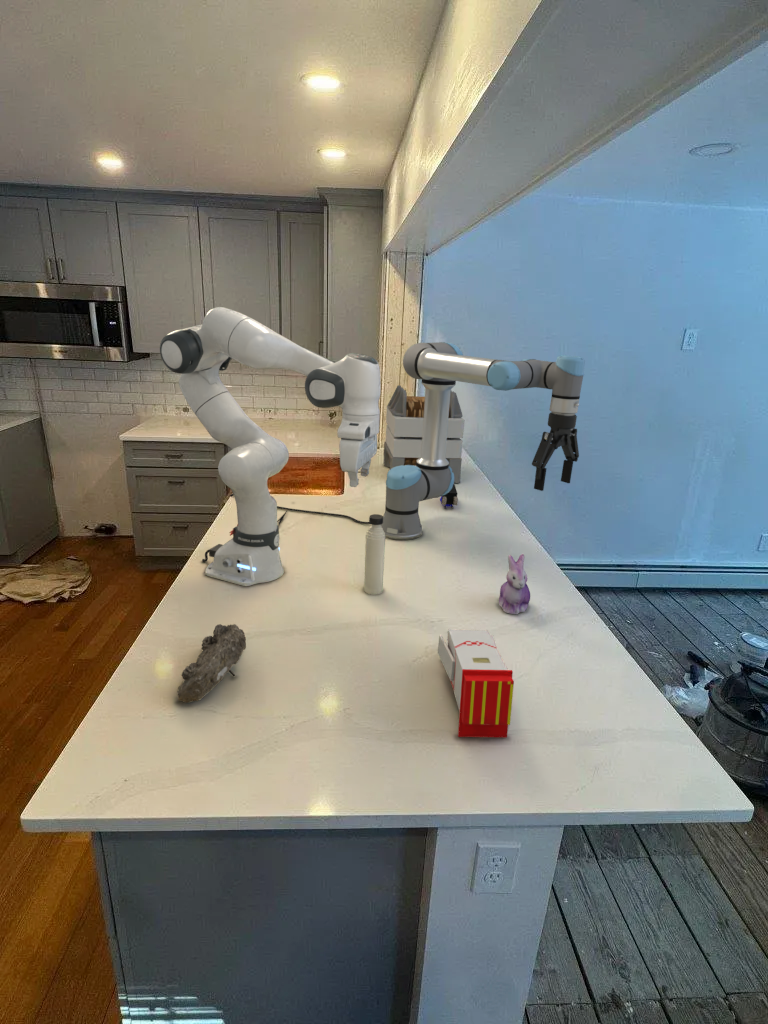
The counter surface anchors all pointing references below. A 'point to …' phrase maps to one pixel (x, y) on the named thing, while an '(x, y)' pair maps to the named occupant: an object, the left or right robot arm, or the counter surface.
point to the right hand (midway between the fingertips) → (552, 485)
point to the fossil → (212, 662)
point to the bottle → (374, 560)
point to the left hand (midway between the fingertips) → (359, 480)
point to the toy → (478, 682)
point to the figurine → (515, 588)
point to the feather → (281, 518)
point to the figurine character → (450, 498)
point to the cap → (376, 519)
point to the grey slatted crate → (419, 431)
